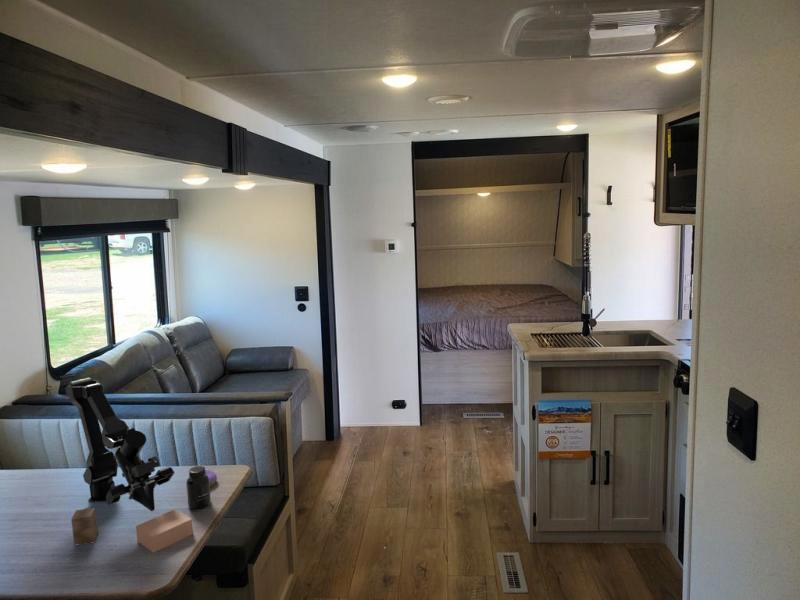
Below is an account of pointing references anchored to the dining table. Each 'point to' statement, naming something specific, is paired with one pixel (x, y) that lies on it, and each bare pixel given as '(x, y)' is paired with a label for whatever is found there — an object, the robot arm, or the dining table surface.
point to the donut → (211, 477)
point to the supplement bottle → (198, 488)
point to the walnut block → (84, 526)
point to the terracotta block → (164, 530)
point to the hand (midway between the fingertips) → (153, 510)
